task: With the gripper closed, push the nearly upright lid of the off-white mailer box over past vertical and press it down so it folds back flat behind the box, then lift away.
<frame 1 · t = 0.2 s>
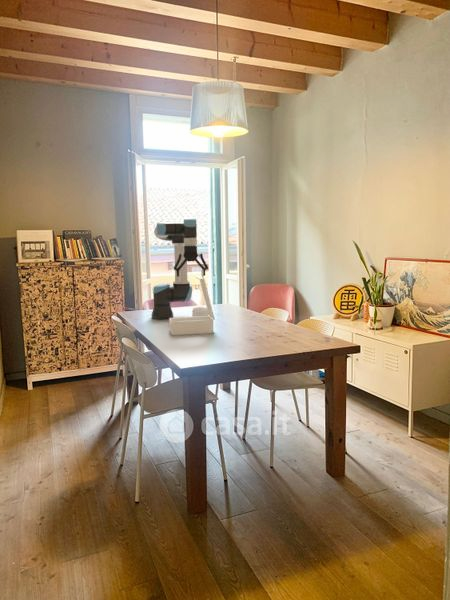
hand: (191, 281, 261), 29 cm above the table, tool pointing down, fingers open, 13 cm apart
mailer box: (191, 332, 261), on the table
mailer lid: (205, 297, 260), point 20 cm above the table, hinge at 76.3°
photo printer: (200, 326, 278), on the table
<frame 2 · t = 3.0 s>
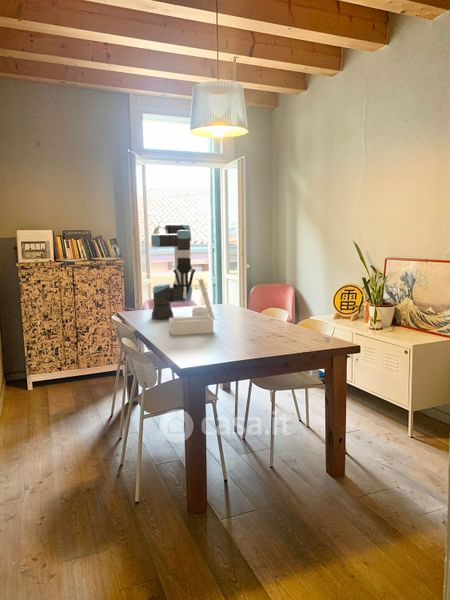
hand: (184, 298, 258), 20 cm above the table, tool pointing down, fingers closed
mailer lid: (204, 298, 260), point 20 cm above the table, hinge at 74.4°
everything else where it was.
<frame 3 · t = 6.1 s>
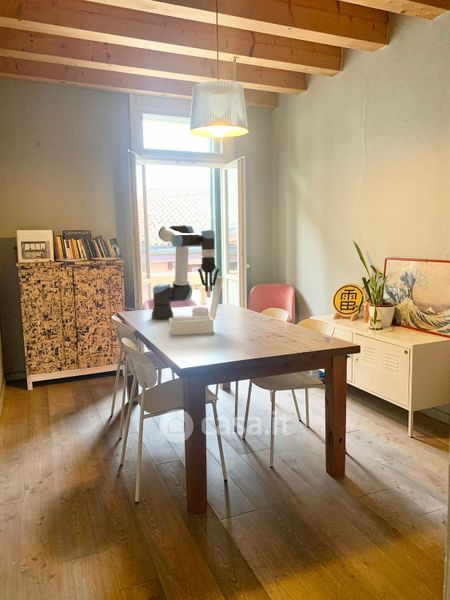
hand: (208, 297, 261), 20 cm above the table, tool pointing down, fingers closed
mailer lid: (214, 297, 262), point 20 cm above the table, hinge at 102.1°, touching hand
everything else where it was.
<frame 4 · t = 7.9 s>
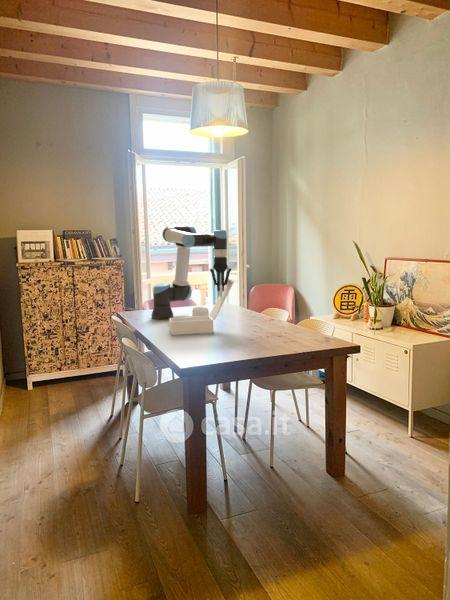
hand: (220, 296, 263), 20 cm above the table, tool pointing down, fingers closed
mailer lid: (220, 298, 263), point 19 cm above the table, hinge at 118.2°, touching gripper, hand
everything else where it was.
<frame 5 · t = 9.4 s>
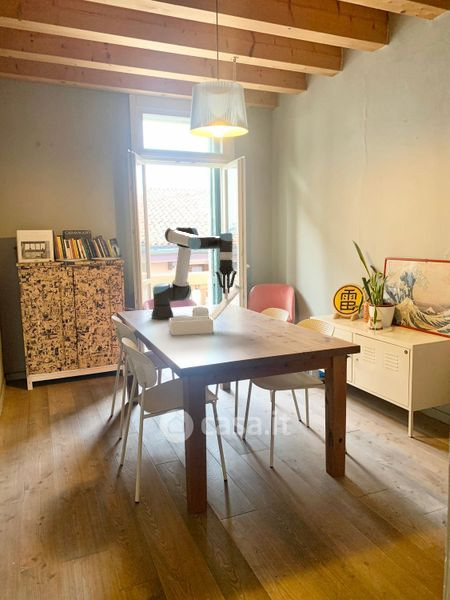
hand: (226, 299, 263), 19 cm above the table, tool pointing down, fingers closed
mailer lid: (224, 301, 264), point 17 cm above the table, hinge at 133.0°, touching gripper
everything else where it was.
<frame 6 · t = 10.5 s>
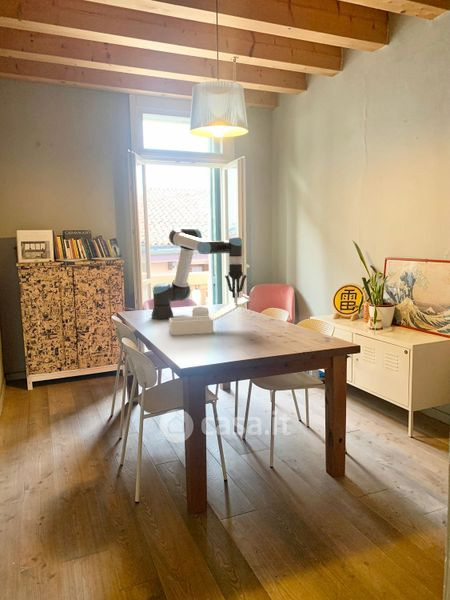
hand: (235, 303, 265), 16 cm above the table, tool pointing down, fingers closed
mailer lid: (229, 306, 265), point 14 cm above the table, hinge at 153.5°, touching gripper
everything else where it was.
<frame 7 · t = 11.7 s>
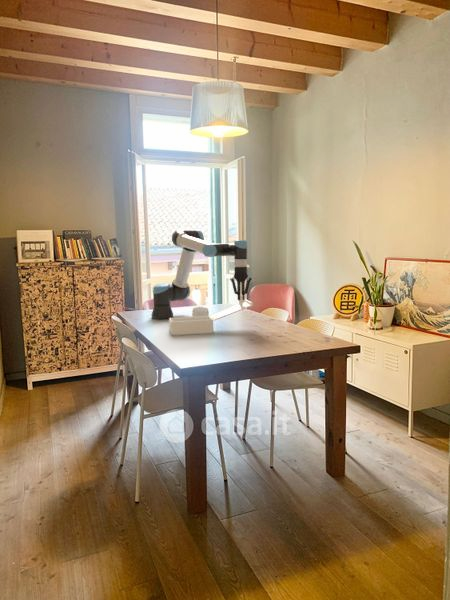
hand: (240, 305, 266), 14 cm above the table, tool pointing down, fingers closed
mailer lid: (230, 309, 265), point 12 cm above the table, hinge at 161.8°, touching gripper
everything else where it was.
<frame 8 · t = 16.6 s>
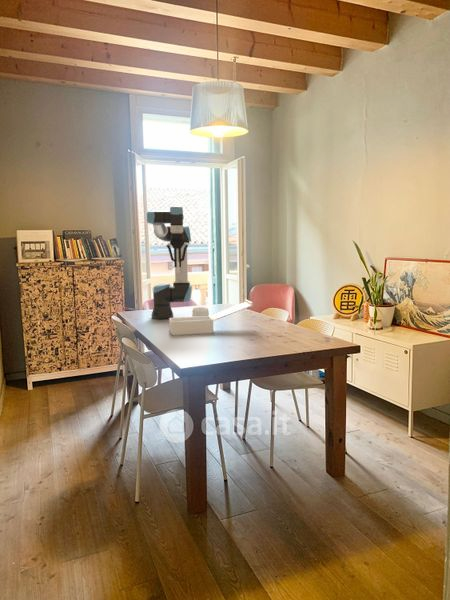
hand: (177, 272, 266), 34 cm above the table, tool pointing down, fingers closed
mailer lid: (230, 309, 265), point 12 cm above the table, hinge at 161.9°
everything else where it was.
at the end: mailer lid at +162° (first picture: +77°); photo printer moved 0.2 cm from its start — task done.
